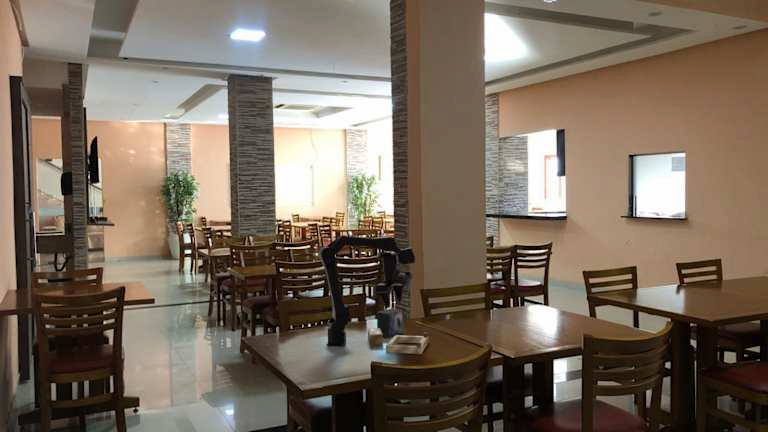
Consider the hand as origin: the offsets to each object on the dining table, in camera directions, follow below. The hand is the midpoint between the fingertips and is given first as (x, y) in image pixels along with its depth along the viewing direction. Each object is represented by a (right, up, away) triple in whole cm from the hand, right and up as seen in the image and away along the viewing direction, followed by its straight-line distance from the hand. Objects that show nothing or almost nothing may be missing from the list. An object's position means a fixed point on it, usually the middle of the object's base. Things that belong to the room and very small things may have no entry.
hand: (394, 304), depth 255 cm
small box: (-2, -14, +9) cm, 17 cm away
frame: (-8, -15, -5) cm, 18 cm away
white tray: (+5, -15, -13) cm, 20 cm away
